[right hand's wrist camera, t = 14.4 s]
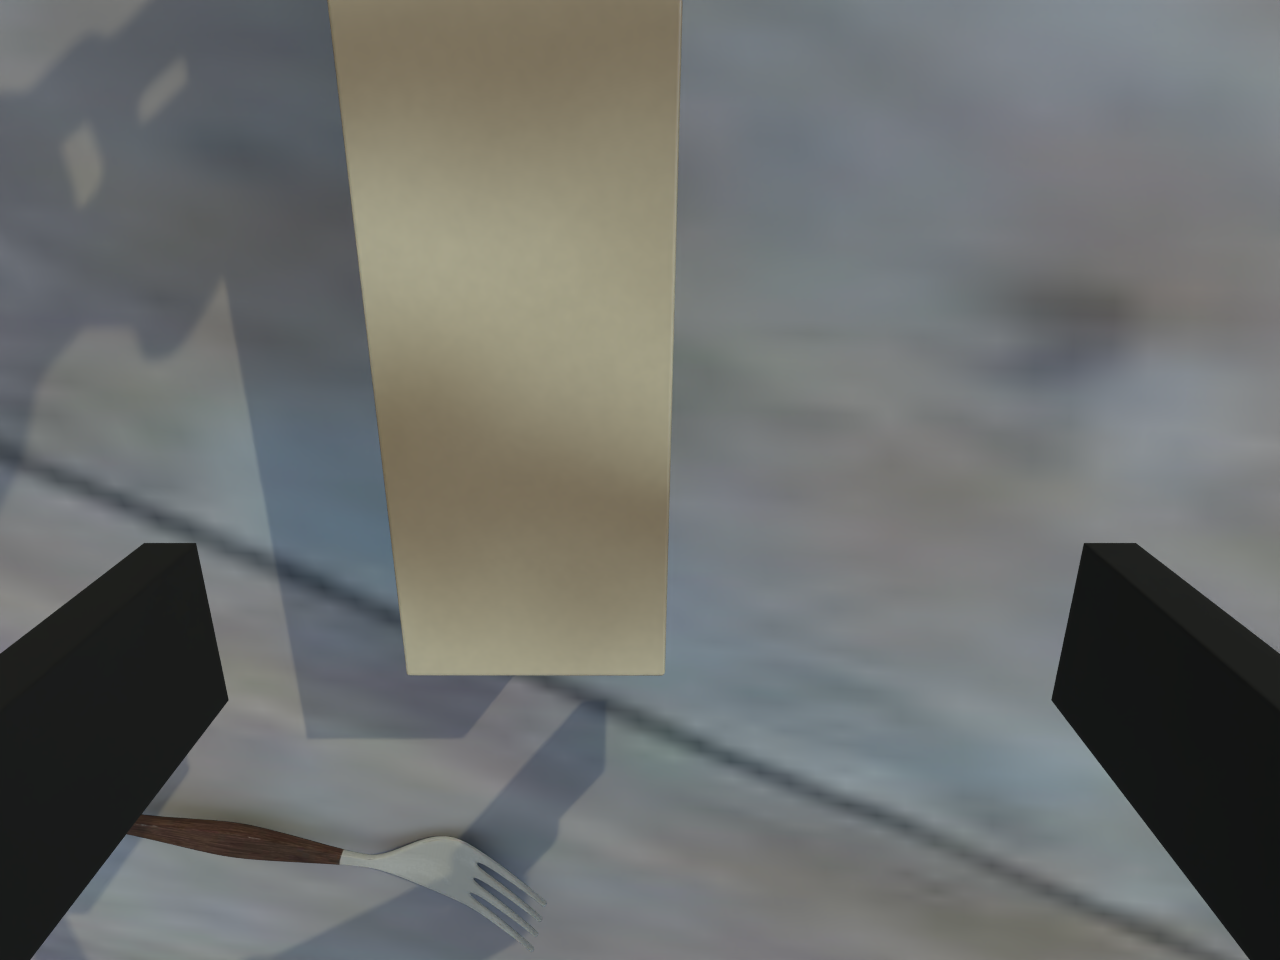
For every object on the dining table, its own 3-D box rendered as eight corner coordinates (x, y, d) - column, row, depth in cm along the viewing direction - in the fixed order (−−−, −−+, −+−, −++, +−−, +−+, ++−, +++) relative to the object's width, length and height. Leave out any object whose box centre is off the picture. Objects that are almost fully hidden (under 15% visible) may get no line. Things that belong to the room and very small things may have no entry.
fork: (63, 768, 27) (21, 816, 25) (553, 850, 28) (547, 901, 27) (65, 828, 28) (24, 878, 26) (538, 904, 29) (532, 957, 28)
